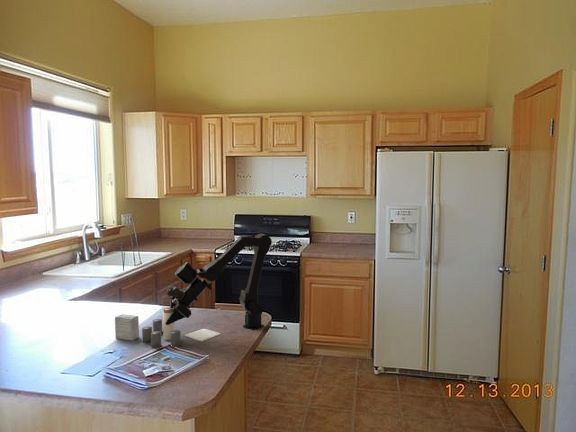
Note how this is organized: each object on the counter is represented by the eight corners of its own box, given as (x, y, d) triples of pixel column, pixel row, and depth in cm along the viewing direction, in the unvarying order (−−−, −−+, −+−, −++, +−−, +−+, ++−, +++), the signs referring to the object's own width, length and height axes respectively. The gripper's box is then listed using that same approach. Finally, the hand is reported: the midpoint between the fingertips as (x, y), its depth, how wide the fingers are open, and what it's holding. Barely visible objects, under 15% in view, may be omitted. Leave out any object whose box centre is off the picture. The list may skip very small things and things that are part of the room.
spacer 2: (164, 332, 170) (163, 320, 169) (156, 334, 167) (156, 322, 166) (158, 330, 172) (158, 318, 171) (151, 332, 169) (150, 320, 169)
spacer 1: (154, 340, 160) (154, 327, 160) (146, 343, 157) (145, 330, 157) (148, 338, 162) (148, 325, 162) (140, 341, 160) (140, 328, 159)
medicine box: (139, 337, 164) (138, 315, 163) (131, 341, 160) (131, 319, 159) (123, 335, 166) (122, 313, 166) (115, 338, 162) (114, 316, 162)
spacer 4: (182, 344, 156) (182, 331, 156) (174, 347, 153) (174, 334, 153) (176, 342, 158) (176, 329, 158) (168, 345, 155) (168, 332, 155)
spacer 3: (163, 345, 155) (163, 332, 155) (154, 348, 152) (154, 335, 152) (157, 343, 157) (157, 330, 157) (149, 346, 155) (148, 333, 154)
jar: (177, 337, 163) (176, 308, 163) (168, 340, 160) (167, 311, 159) (170, 335, 166) (169, 306, 165) (161, 338, 163) (160, 309, 162)
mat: (220, 334, 167) (220, 333, 167) (201, 341, 159) (201, 340, 159) (204, 329, 173) (204, 328, 173) (184, 336, 165) (184, 335, 165)
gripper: (175, 273, 172) (147, 302, 168) (181, 283, 154) (151, 316, 151) (195, 290, 175) (168, 319, 172) (203, 302, 158) (174, 334, 154)
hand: (165, 321), depth 162 cm, fingers open, 6 cm apart
